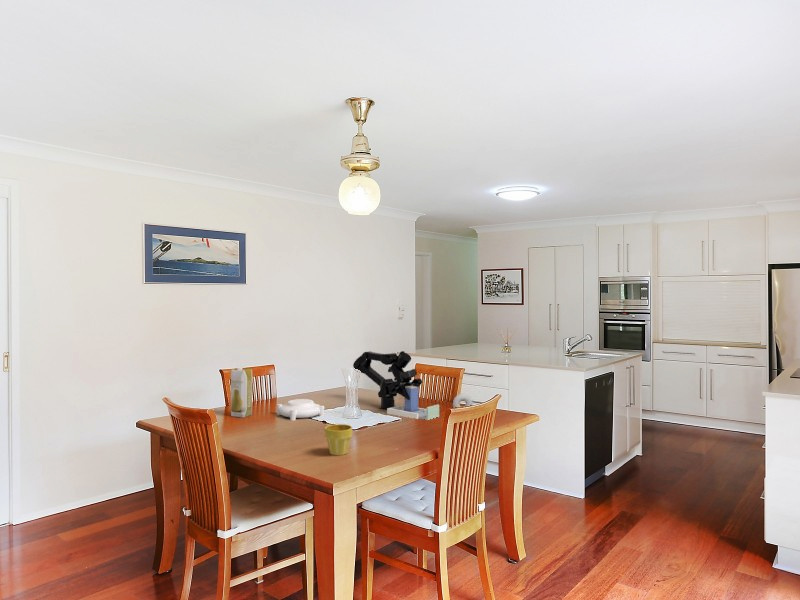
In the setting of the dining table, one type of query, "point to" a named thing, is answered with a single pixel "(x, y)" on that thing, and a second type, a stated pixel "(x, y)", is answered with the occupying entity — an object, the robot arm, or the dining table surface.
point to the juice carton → (241, 392)
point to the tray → (428, 412)
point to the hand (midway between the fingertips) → (413, 398)
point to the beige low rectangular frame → (403, 412)
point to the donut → (462, 398)
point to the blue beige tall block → (411, 399)
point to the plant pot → (338, 438)
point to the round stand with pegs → (300, 409)
